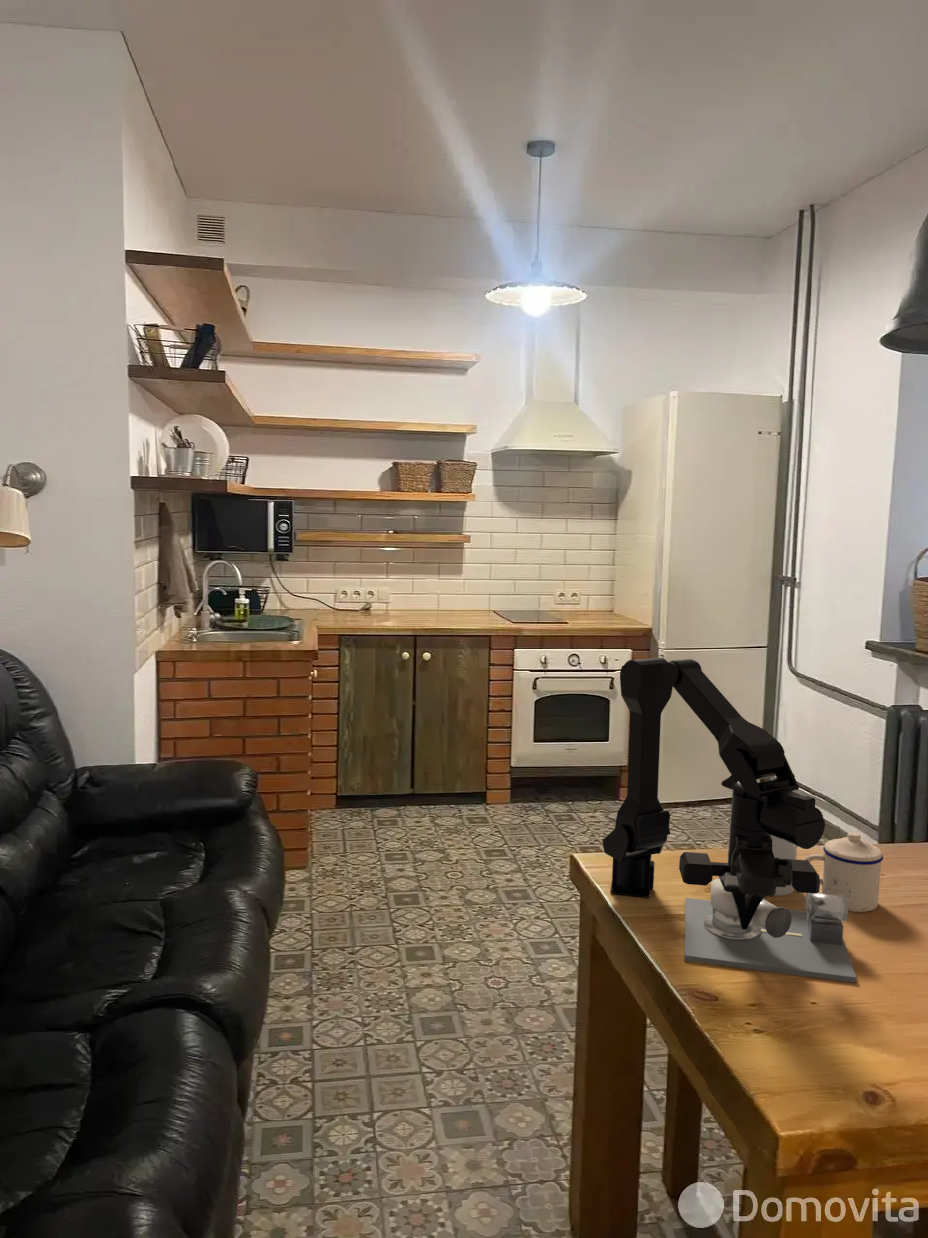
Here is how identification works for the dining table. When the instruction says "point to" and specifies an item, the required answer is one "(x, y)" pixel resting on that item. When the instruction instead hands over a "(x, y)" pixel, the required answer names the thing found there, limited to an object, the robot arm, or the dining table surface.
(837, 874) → the teacup with lid
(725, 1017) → the dining table surface
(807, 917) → the duct run
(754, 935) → the duct stub
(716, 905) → the elbow
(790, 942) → the board
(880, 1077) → the dining table surface
